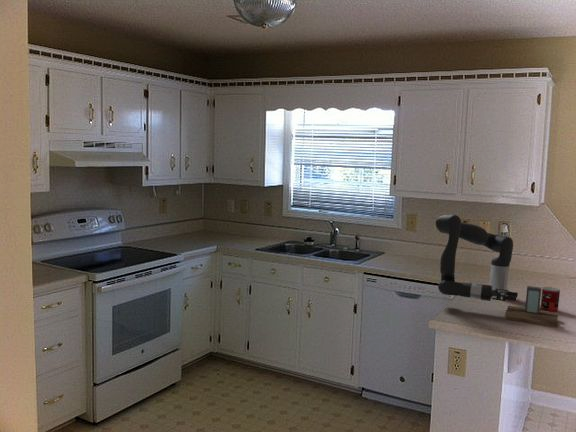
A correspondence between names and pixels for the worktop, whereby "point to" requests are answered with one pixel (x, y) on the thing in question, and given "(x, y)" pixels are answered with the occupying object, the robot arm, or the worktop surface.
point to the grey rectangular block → (533, 300)
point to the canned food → (550, 299)
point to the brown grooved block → (531, 316)
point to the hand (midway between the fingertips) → (516, 297)
